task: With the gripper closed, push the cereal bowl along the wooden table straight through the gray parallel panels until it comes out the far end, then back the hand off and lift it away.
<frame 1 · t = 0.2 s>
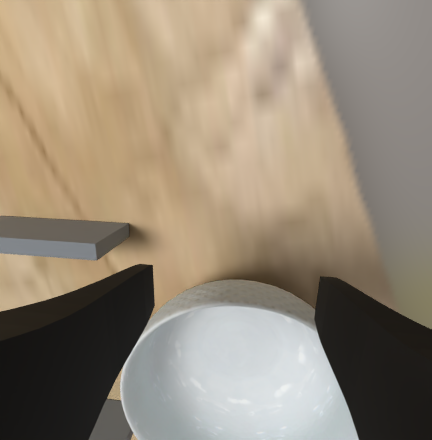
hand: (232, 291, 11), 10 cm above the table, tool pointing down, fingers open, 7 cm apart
cereal bowl: (238, 336, 23), on the table
gray parallel panels: (77, 322, 25), on the table
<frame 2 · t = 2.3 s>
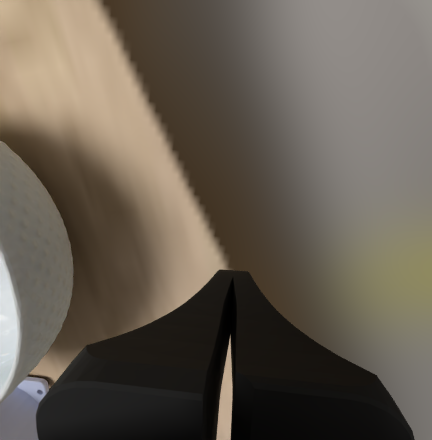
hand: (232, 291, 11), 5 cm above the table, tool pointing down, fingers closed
cereal bowl: (0, 233, 17), on the table
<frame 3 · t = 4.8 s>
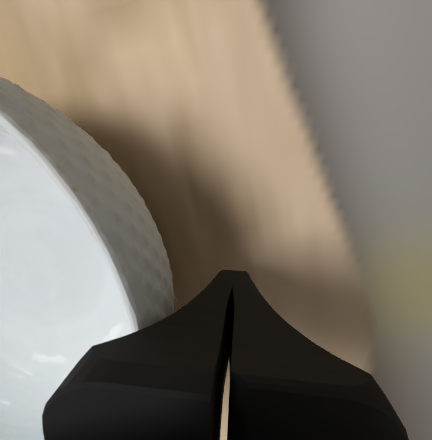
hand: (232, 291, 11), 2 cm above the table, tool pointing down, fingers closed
cereal bowl: (55, 252, 14), on the table, touching gripper
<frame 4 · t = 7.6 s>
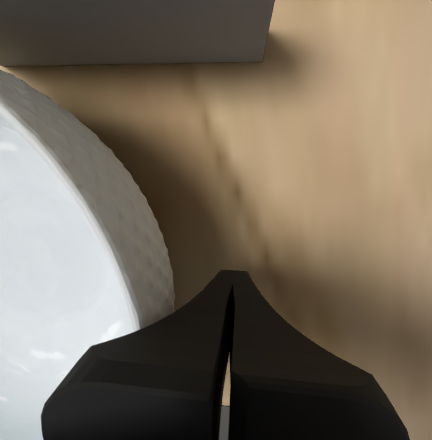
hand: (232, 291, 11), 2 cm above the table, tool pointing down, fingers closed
cereal bowl: (55, 249, 14), on the table, touching gripper
gray parallel panels: (138, 261, 13), on the table
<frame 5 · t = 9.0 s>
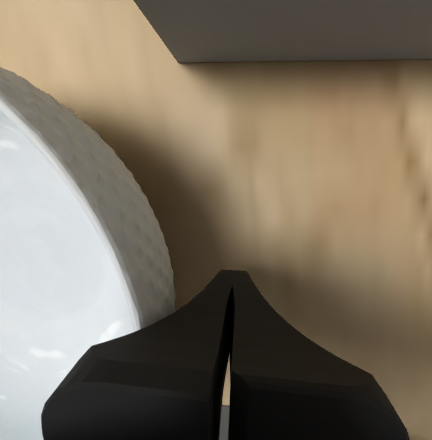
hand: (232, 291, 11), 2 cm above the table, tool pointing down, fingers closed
cereal bowl: (54, 247, 14), on the table, touching gripper
gray parallel panels: (296, 271, 13), on the table
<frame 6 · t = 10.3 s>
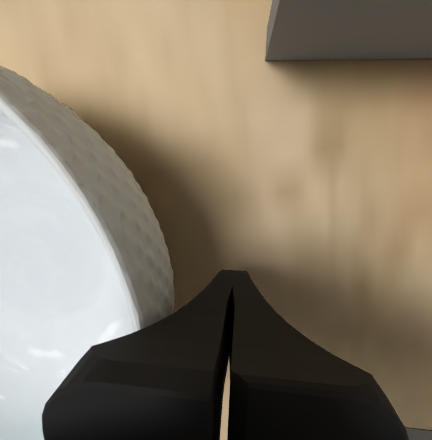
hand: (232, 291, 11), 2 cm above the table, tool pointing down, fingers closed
cereal bowl: (54, 247, 14), on the table, touching gripper
gray parallel panels: (373, 276, 12), on the table
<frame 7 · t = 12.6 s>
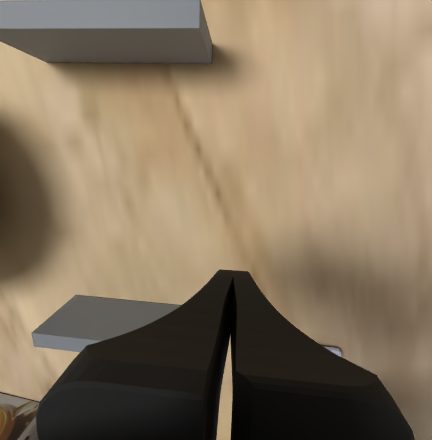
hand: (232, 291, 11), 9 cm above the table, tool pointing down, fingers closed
coffee box: (11, 411, 28), on the table
gray parallel panels: (133, 197, 20), on the table
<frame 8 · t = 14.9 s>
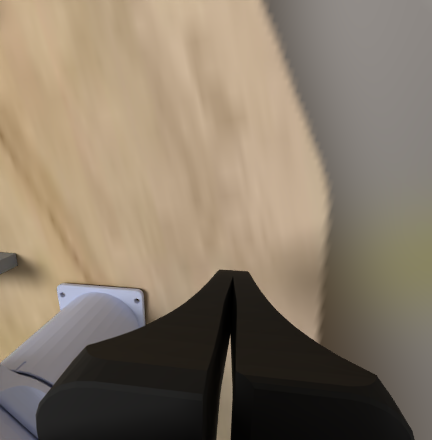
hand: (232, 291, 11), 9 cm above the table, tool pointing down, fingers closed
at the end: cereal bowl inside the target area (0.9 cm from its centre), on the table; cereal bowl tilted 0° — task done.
